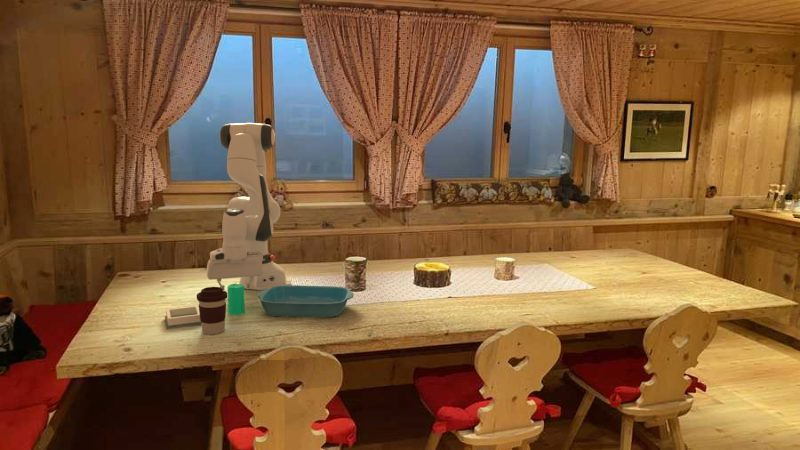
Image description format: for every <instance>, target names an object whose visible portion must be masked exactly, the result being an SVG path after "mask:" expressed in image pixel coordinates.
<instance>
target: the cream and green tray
mask: <svg viewBox="0 0 800 450" xmlns="http://www.w3.org/2000/svg"><path fill="white" fill-rule="evenodd" d="M164 320H165V326H166V329H175V328H183V327H191V326H198V325H202V324H201V321H200V313H199V305H191V306H185V307H184V306H183V307H174V308H166V310H165V315H164Z"/></svg>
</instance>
